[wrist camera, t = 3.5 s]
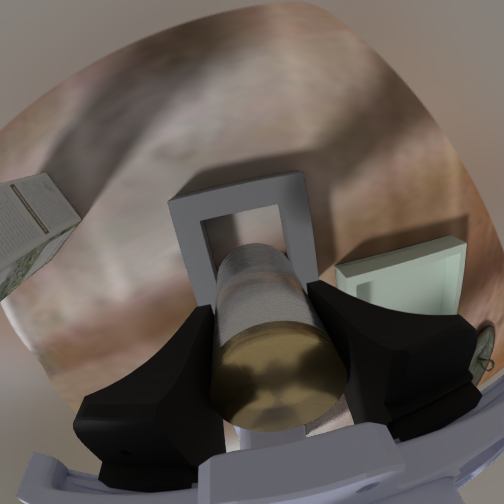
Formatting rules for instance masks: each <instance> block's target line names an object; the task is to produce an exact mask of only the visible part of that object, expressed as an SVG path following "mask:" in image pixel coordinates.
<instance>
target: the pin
mask: <svg viewBox="0 0 504 504" xmlns="http://www.w3.org/2000/svg"><path fill="white" fill-rule="evenodd" d="M346 382H347V372H346V368H345V365H344V364H343V362H342V360H341V358H340V356H339V354H338V352H337V350H336V348H335V346H334V344H333V342H332V340H331V338H330V337H329V335H328V333H327V331H326V329H325V327H324V325H323V323H322V321H321V319H320V318H319V316H318V314H317V312H316V310H315V308H314V306H313V304H312V303H311V301H310V299H309V297H308V295H307V293H306V291H305V290H304V288H303V286H302V284H301V282H300V280H299V279H298V277H297V275H296V273H295V271H294V270H293V268H292V266H291V264H290V262H289V261H288V259H287V258H286V256H285V255H284V254H283V253H282V252H281V251H279V250H278V249H276V248H275V247H273V246H270V245H267V244H261V243H252V244H247V245H243V246H241V247H238V248H236V249H235V250H233V251H232V252H230V253H229V254H228V255H227V256H226V257H225V259H224V260H223V261H222V263H221V265H220V267H219V270H218V275H217V288H216V301H215V316H214V332H213V349H212V368H211V390H210V397H211V402H212V405H213V407H214V409H215V411H216V412H217V413H218V414H219V415H220V416H221V417H222V418H223V419H224V420H225V421H227V422H229V423H230V424H232V425H235V426H237V427H240V428H243V429H246V430H251V431H258V432H275V431H283V430H289V429H293V428H296V427H299V426H302V425H305V424H307V423H309V422H311V421H313V420H315V419H317V418H319V417H320V416H322V415H323V414H325V413H326V412H327V411H328V410H329V409H331V408H332V407H333V406H334V405H335V403H336V402H337V401H338V400H339V398H340V397H341V395H342V393H343V391H344V389H345V386H346Z"/></svg>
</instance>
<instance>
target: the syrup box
mask: <svg viewBox="0 0 504 504" xmlns="http://www.w3.org/2000/svg"><path fill="white" fill-rule="evenodd" d="M80 222H81V218H80V217H79V215H78V214H77V213H76V211H75V210H74V209H73V207H72V206H71V205H70V203H69V202H68V201H67V200H66V198H65V197H64V196H63V194H62V193H61V192H60V190H59V189H58V188H57V186H56V185H55V184H54V182H53V181H52V180H51V178H50V177H49V176H48V174H47V173H41V174H36V175H33V176H28V177H24V178H20V179H16V180H12V181H8V182H4V183H0V302H1V301H2V300H3V299H4V298H5V297H6V296H8V295H9V294H10V293H11V292H12V291H13V290H14V289H16V288H17V287H18V286H19V285H21V284H22V283H23V282H24V281H25V280H27V279H28V278H29V277H30V276H32V275H33V274H34V273H35V272H37V271H38V270H39V269H40V268H42V267H43V266H44V265H45V264H47V263H48V262H49V261H51V260H52V258H53V257H54V256H55V254H56V253H57V251H58V250H59V249H60V247H61V246H62V245H63V243H64V242H65V241H66V239H67V238H68V237H69V235H70V234H71V233H72V232H73V230H74V229H75V228H76V227H77V226H78V224H79V223H80Z"/></svg>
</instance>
